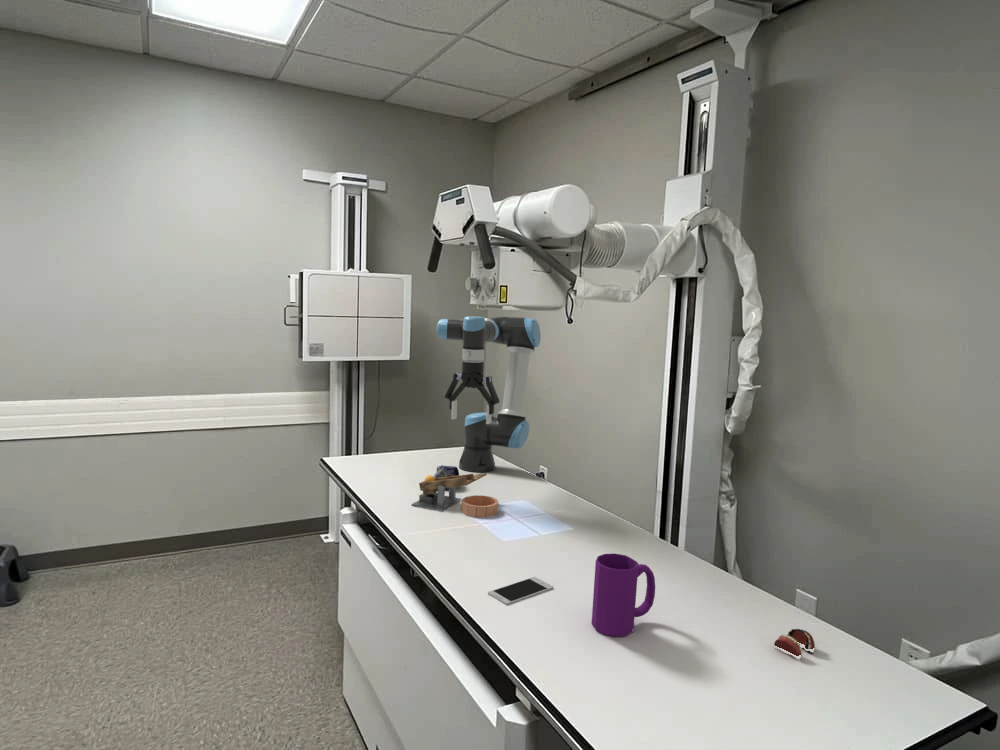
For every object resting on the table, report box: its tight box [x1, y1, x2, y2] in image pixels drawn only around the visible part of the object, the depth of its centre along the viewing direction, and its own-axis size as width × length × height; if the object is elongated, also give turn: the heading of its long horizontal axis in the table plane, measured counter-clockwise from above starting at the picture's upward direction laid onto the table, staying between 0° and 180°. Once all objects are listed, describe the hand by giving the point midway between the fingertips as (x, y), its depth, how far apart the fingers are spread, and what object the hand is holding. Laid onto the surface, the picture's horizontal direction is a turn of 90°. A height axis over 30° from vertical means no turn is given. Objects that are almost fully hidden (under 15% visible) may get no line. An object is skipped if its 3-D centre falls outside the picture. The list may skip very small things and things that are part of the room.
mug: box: [591, 553, 656, 638], centre depth 138 cm, size 9×16×15 cm, turn 118°
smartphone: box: [487, 576, 554, 606], centre depth 153 cm, size 7×15×1 cm, turn 130°
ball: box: [424, 474, 435, 482], centre depth 217 cm, size 4×4×4 cm
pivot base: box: [411, 485, 462, 512], centre depth 216 cm, size 12×14×8 cm
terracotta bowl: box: [460, 495, 499, 518], centre depth 210 cm, size 12×12×4 cm
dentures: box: [773, 628, 816, 656], centre depth 131 cm, size 6×4×8 cm
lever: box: [418, 472, 488, 495], centre depth 218 cm, size 18×15×4 cm
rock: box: [433, 464, 460, 491], centre depth 236 cm, size 11×10×10 cm
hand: (471, 421), depth 222 cm, fingers open, 13 cm apart
